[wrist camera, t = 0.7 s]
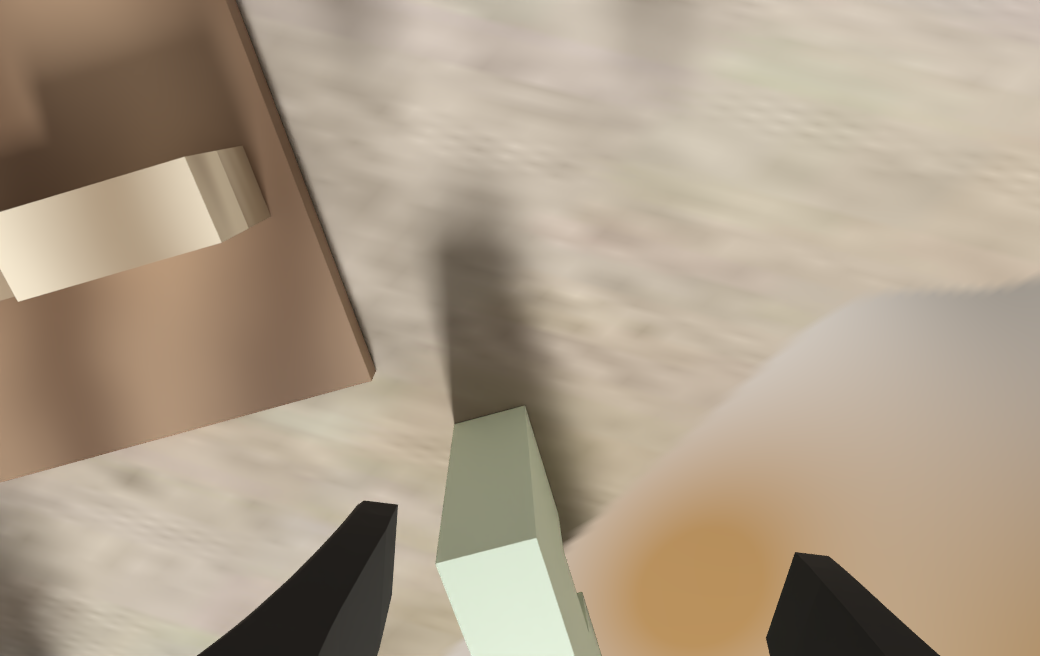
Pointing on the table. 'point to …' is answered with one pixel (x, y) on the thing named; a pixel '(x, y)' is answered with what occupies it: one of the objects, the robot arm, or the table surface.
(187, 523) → the table surface
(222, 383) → the slotted base
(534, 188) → the table surface
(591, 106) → the table surface
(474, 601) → the sage plate
